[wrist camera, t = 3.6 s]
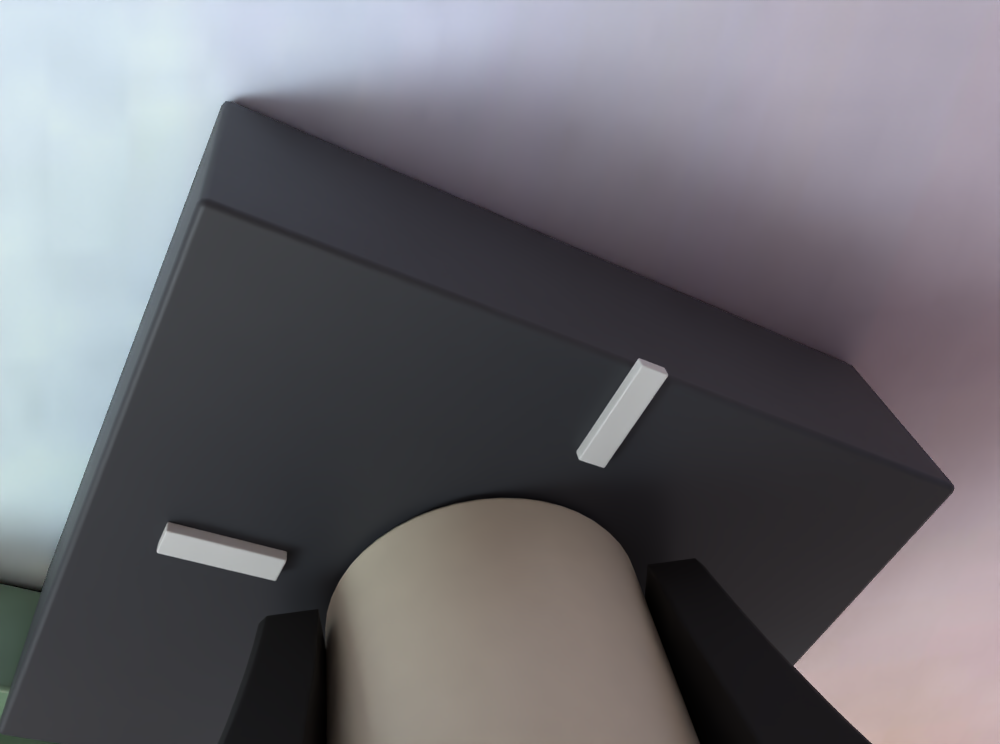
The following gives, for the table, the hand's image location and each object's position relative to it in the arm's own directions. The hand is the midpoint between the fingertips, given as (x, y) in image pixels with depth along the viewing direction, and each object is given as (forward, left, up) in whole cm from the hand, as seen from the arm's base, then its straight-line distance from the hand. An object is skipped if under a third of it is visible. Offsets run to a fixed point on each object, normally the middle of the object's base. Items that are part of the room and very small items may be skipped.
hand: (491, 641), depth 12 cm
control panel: (0, 0, -3) cm, 3 cm away
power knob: (0, 0, 0) cm, 0 cm away
